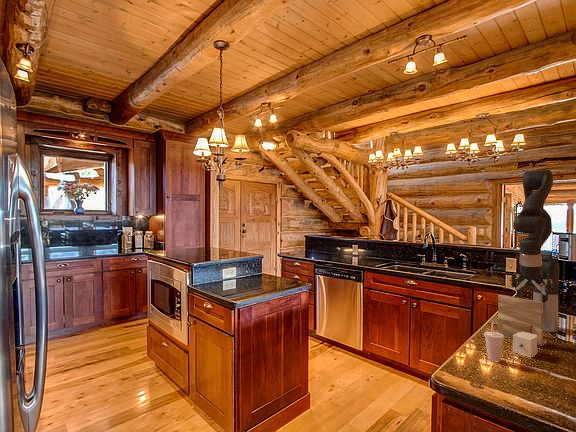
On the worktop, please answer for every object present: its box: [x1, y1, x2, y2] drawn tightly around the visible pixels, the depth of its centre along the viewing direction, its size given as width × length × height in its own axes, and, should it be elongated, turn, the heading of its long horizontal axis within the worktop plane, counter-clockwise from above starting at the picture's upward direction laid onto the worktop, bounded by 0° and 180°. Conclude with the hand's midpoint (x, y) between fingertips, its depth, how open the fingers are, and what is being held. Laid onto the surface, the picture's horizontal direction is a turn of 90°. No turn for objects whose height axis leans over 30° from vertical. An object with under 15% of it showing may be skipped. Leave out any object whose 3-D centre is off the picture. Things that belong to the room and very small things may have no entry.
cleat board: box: [497, 294, 548, 347], centre depth 140 cm, size 8×16×18 cm, turn 34°
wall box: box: [512, 332, 538, 359], centre depth 126 cm, size 9×6×7 cm
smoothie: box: [484, 321, 505, 362], centre depth 120 cm, size 6×6×14 cm
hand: (532, 299), depth 137 cm, fingers open, 8 cm apart
